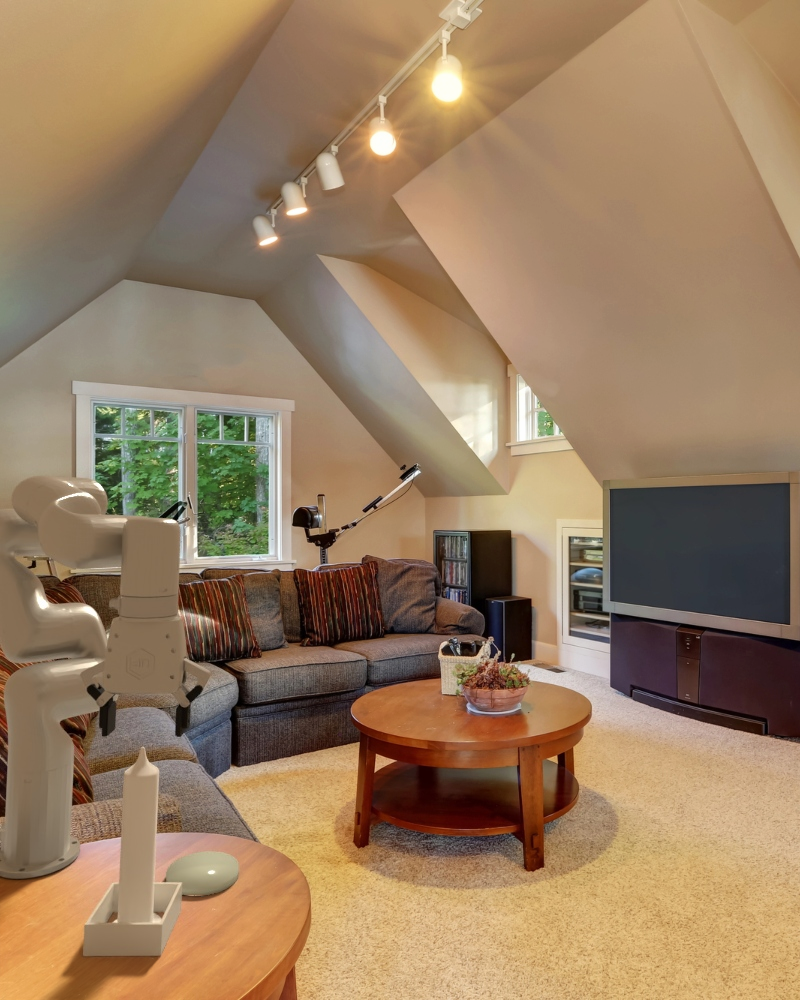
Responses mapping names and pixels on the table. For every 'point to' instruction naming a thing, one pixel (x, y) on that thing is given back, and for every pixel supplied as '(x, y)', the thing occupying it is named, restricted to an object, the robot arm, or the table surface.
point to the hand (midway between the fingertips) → (144, 733)
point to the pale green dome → (204, 872)
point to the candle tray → (132, 925)
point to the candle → (138, 843)
